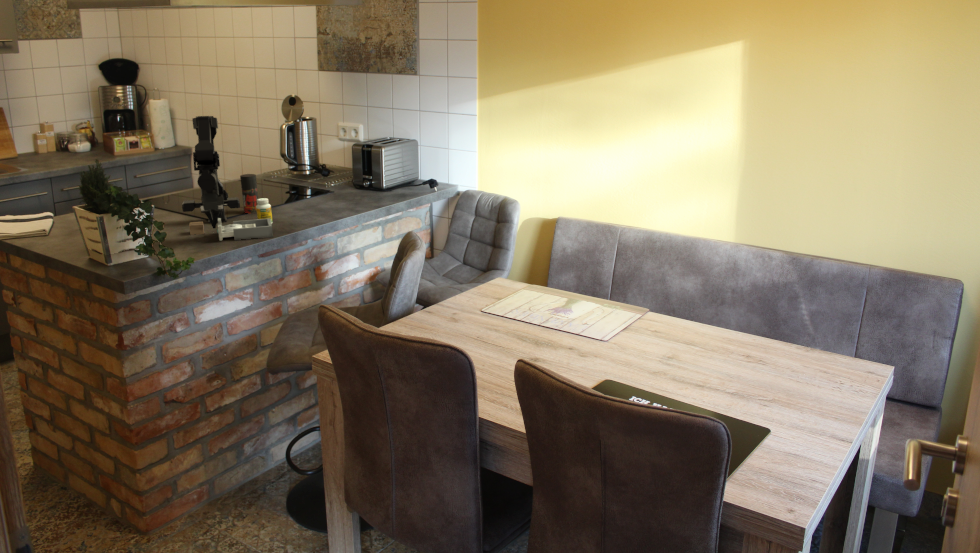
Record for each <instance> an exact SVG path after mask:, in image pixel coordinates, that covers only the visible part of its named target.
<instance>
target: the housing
mask: <svg viewBox="0 0 980 553" xmlns="http://www.w3.org/2000/svg"><path fill="white" fill-rule="evenodd" d="M232 224H241V225H245V224H255V225H256V227H249V228H237V229H233V231H234V241H242V240H241V239H246V240H252V239H251V238H258V239H268V238H274V234H273V223H272V224H271V221H270V218H268V219H258V218H257V219H256V218H255V219H246V220H245V219H244V220H233V221H232Z"/></svg>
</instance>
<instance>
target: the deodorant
mask: <svg viewBox="0 0 980 553" xmlns="http://www.w3.org/2000/svg"><path fill="white" fill-rule="evenodd" d="M257 182H258V181H257V175H256V174H254V173H247V174H246V173H244V174H241V175H240V185H241V186H240V187H241V194H242V195H241V196H242V205H243V213H244V212H245V213H248V214H247V215H253V214H254V213H255V214H257V210H256V206H257V205H258V203H257V199H259V195H258V194H259V193H258V192H259V191H258V183H257ZM245 213H244V214H245Z"/></svg>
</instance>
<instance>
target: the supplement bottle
mask: <svg viewBox="0 0 980 553" xmlns="http://www.w3.org/2000/svg"><path fill="white" fill-rule="evenodd" d="M257 203H258V205H257V206H256V210H257V213H256V217H257V219H268V218H270V221H271V224H272V225H273V223H274V222H273V214H272V212H273V211H272V205H271V204H270V203H269V198H266V197H264V198H263V197H262V198H258V199H257Z"/></svg>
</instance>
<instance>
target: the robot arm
mask: <svg viewBox="0 0 980 553" xmlns="http://www.w3.org/2000/svg"><path fill="white" fill-rule="evenodd" d="M191 119H192V127H193V128H192V129H193V130H195V133H196V135H197V138H198V140H197V141H198V143H196V144H195V145H194V151H193V152H192V158H193V171H198V178H197V186H198V187H199V188H200V194H201V197H200V198H201V199H200V200H201V202H200V201H199V202H196V201H195V199H192V200H190V199H189V200H187V199H186V200H183V201H182V204H181V208H182V212H183V213H186V212H187V213H188V212H193V211H194V210H195V209H199V208H200V213H201V214H202V213H204V215H205V216H206V217H207V219H208V224H210V225H211V227H212V229H216V228H217V224H218V218H221V223H225V222H228V219H227V216H226V211H225V207H228V209H239V208H241V204H240V198H239V197H238V196H235V197H229V193H228V192H227V191H226V189H224V184H223V183H222V181H221V180H220V179H219V176H218V170H219V167H221V164H220V163H221V161H220V154H219V152H218V151H216V149H215V142H214V141H215V140H214V139H215V137H216V135H217V132H218V130H217V129H219V122H218V118H217V117H214V115H198V116H195V117H194V118H193V117H192V118H191Z"/></svg>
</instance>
